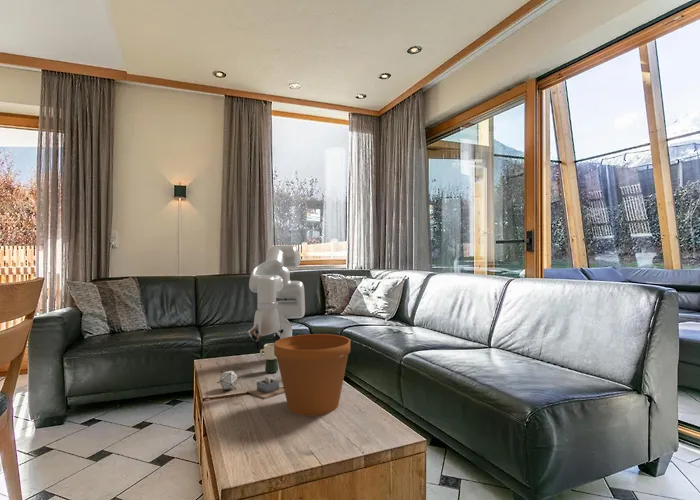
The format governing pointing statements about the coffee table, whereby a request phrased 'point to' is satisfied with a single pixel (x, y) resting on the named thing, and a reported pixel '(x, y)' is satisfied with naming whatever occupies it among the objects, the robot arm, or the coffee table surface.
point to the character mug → (269, 358)
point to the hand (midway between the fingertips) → (267, 348)
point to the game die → (228, 380)
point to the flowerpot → (312, 371)
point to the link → (267, 386)
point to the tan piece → (263, 395)
